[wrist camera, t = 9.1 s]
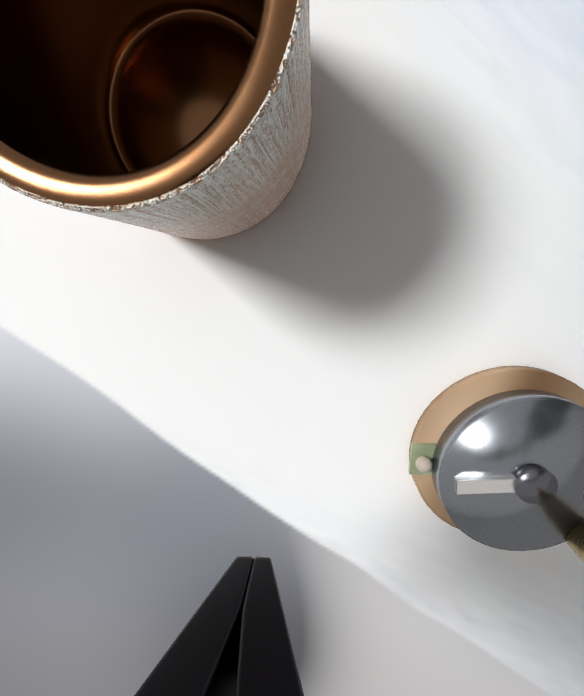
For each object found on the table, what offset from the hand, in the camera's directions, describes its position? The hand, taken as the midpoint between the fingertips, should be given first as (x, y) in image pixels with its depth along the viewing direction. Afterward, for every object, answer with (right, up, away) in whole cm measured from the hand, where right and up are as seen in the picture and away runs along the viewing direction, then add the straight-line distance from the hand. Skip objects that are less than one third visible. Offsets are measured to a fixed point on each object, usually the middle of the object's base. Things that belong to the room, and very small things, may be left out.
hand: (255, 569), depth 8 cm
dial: (+14, -1, +11) cm, 17 cm away
